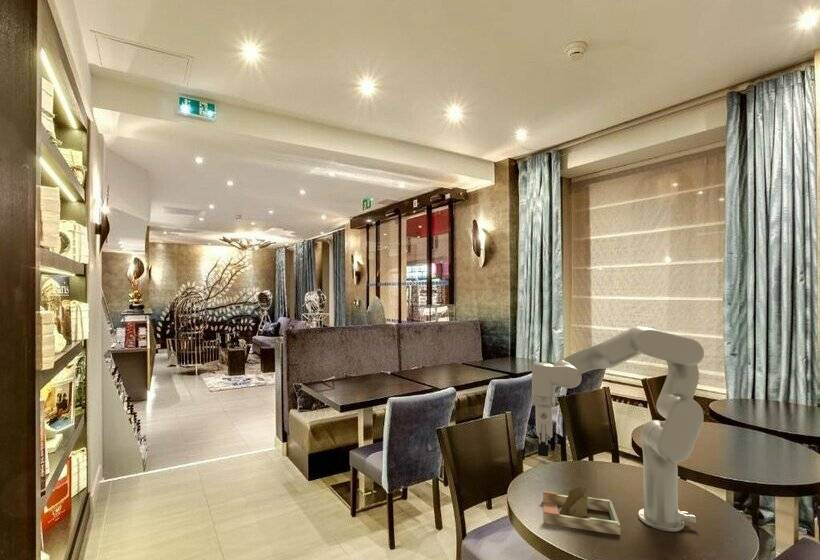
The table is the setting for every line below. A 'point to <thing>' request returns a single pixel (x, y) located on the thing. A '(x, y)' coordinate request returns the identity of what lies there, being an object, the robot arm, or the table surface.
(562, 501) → the box
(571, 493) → the rock
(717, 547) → the table surface
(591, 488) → the table surface
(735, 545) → the table surface
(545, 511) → the pads
